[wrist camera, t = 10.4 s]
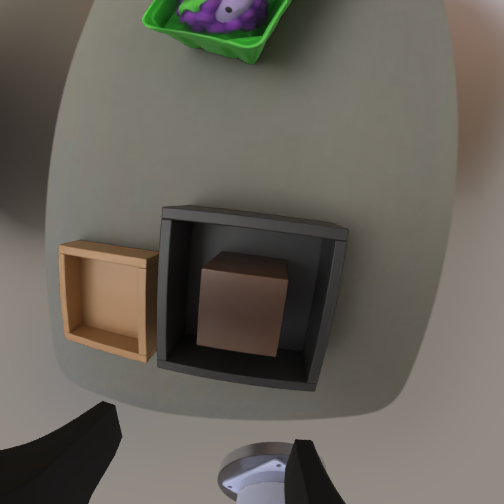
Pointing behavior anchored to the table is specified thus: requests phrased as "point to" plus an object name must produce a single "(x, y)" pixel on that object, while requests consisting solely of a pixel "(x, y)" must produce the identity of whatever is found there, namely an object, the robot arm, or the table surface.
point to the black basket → (296, 304)
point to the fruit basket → (218, 24)
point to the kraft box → (110, 297)
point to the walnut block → (242, 303)
